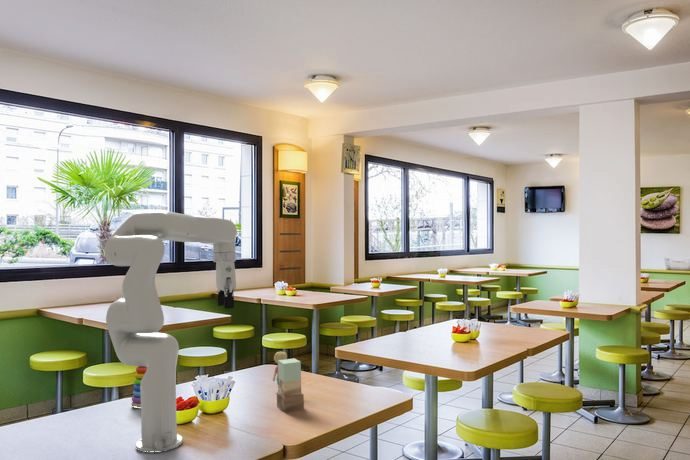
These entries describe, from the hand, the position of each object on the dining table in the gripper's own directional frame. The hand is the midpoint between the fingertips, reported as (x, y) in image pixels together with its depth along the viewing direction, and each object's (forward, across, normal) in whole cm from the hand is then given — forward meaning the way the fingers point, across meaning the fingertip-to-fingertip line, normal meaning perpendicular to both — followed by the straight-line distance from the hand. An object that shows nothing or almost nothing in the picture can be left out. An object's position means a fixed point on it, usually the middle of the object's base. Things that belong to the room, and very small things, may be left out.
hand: (225, 306), depth 192 cm
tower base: (+34, -13, -18) cm, 41 cm away
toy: (+34, +7, -22) cm, 42 cm away
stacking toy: (+34, +15, +26) cm, 46 cm away
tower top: (+30, -13, -18) cm, 37 cm away
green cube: (+24, -13, -18) cm, 33 cm away
